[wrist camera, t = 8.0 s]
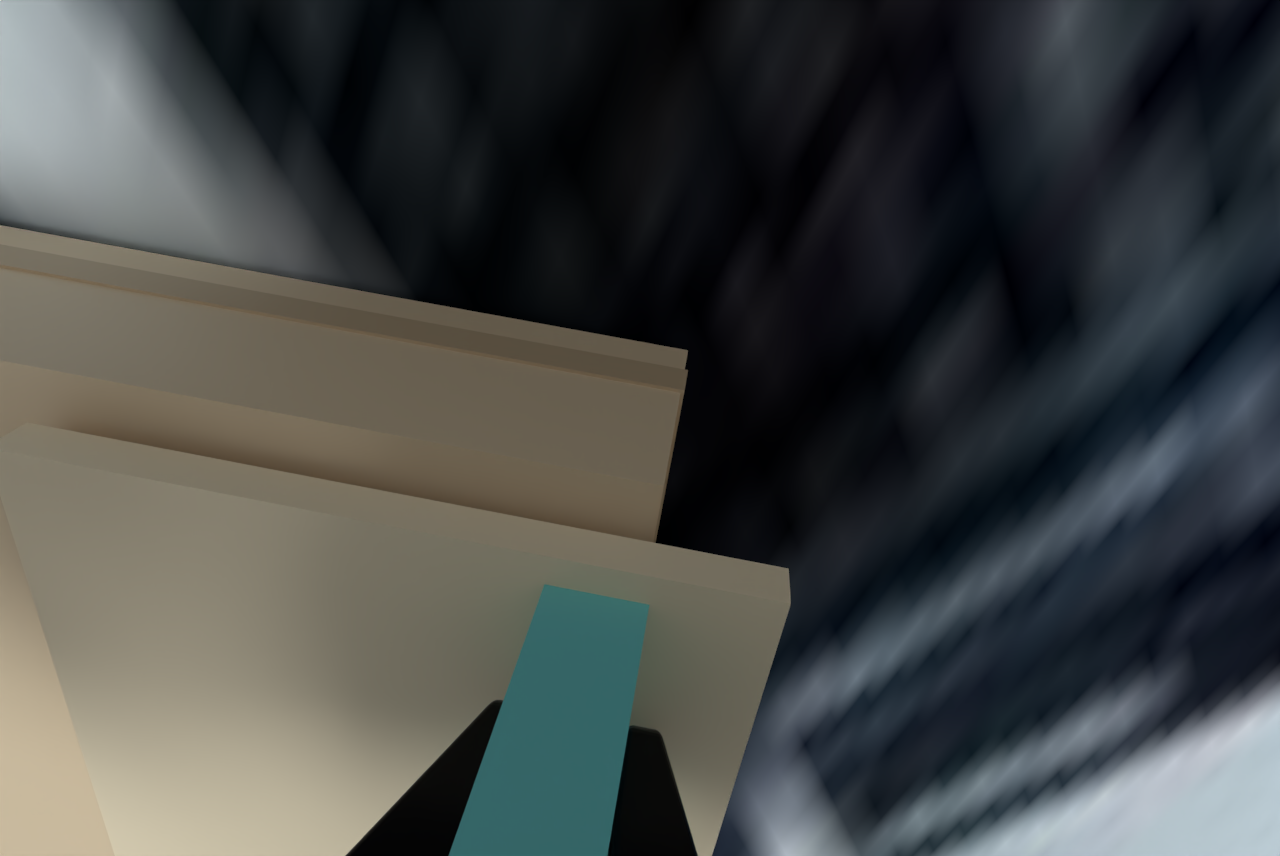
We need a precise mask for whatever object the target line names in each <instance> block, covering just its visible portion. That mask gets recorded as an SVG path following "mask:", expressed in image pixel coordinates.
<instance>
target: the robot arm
mask: <svg viewBox="0 0 1280 856" xmlns="http://www.w3.org/2000/svg"><path fill="white" fill-rule="evenodd" d="M502 703H503V700H494V701H492V702H491V703H490V704H489V705H488V706H487V707H486V708H485V709H484V710H483V711H482V712H481V713H480V714H479V715H478V716H477V717H476V718H475V719H474V720H473V721H472V723H471V724H470V725H469V726H468V727H467V728H466V729H465V730H464V731H463V732H462V733H461V734H460V735H459V736H458V737H457V738H456V739H455V740H454V742H453V743H452V744H451V745H450V746H449V747H448V748H447V749H446V750H445V751H444V752H443V753H442V754H441V755H440V756H439V757H438V758H437V759H436V761H435V762H434V763H433V764H432V765H431V766H430V767H429V768H428V769H427V770H426V771H425V772H424V773H423V774H422V775H421V776H420V777H419V778H418V779H417V781H416V782H415V783H414V784H413V785H412V786H411V787H410V788H409V789H408V790H407V791H406V792H405V793H404V794H403V795H402V796H401V797H400V798H399V800H398V801H397V802H396V803H395V804H394V805H393V806H392V807H391V808H390V809H389V810H388V811H387V812H386V813H385V814H384V815H383V816H382V817H381V819H380V820H379V821H378V822H377V823H376V824H375V825H374V826H373V827H372V828H371V829H370V830H369V831H368V832H367V833H366V834H365V835H364V836H363V838H362V839H361V840H360V841H359V842H358V843H357V844H356V845H355V846H354V847H353V848H352V849H351V850H350V851H349V852H348V853H347V854H346V855H345V856H449V853H450V850H451V847H452V845H453V842H454V839H455V836H456V833H457V830H458V828H459V825H460V822H461V819H462V816H463V813H464V811H465V808H466V805H467V802H468V799H469V796H470V794H471V791H472V788H473V785H474V782H475V779H476V777H477V774H478V771H479V768H480V765H481V762H482V760H483V757H484V754H485V751H486V748H487V745H488V743H489V740H490V737H491V734H492V731H493V728H494V726H495V723H496V720H497V717H498V714H499V711H500V709H501V706H502ZM607 856H698V854H697V851H696V847H695V844H694V841H693V837H692V834H691V831H690V827H689V824H688V820H687V817H686V814H685V810H684V807H683V804H682V800H681V797H680V794H679V790H678V787H677V783H676V780H675V777H674V773H673V770H672V767H671V763H670V760H669V757H668V753H667V750H666V746H665V743H664V740H663V737H662V735H661V733H660V732H659V731H658V730H655V729H650V728H645V727H640V726H635V725H632V726H629V730H628V736H627V742H626V748H625V754H624V759H623V765H622V771H621V777H620V783H619V789H618V795H617V801H616V807H615V813H614V819H613V825H612V831H611V837H610V843H609V849H608V855H607Z"/></svg>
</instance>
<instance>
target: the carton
mask: <svg viewBox="0 0 1280 856" xmlns="http://www.w3.org/2000/svg"><path fill="white" fill-rule="evenodd" d="M687 354H688V350H684V349H678V348H673V347H667V346H662V345H656V344H651V343H645V342H640V341H634V340H629V339H623V338H618V337H612V336H607V335H601V334H596V333H590V332H585V331H579V330H574V329H568V328H563V327H557V326H552V325H546V324H541V323H535V322H530V321H524V320H519V319H513V318H508V317H502V316H497V315H491V314H486V313H480V312H475V311H469V310H464V309H458V308H453V307H447V306H442V305H436V304H431V303H425V302H420V301H414V300H409V299H403V298H398V297H392V296H387V295H381V294H376V293H370V292H365V291H359V290H354V289H348V288H343V287H337V286H332V285H326V284H321V283H316V282H310V281H305V280H299V279H294V278H288V277H283V276H277V275H272V274H266V273H261V272H255V271H250V270H244V269H239V268H233V267H228V266H222V265H217V264H211V263H206V262H200V261H195V260H189V259H184V258H178V257H173V256H167V255H162V254H156V253H151V252H145V251H140V250H134V249H129V248H123V247H118V246H112V245H107V244H101V243H96V242H90V241H85V240H79V239H74V238H68V237H63V236H57V235H52V234H46V233H41V232H35V231H30V230H24V229H19V228H13V227H8V226H2V225H0V438H2V437H3V436H5V435H7V434H8V433H10V432H12V431H14V430H15V429H17V428H19V427H20V426H22V425H24V424H25V423H27V422H28V423H33V424H38V425H44V426H49V427H54V428H59V429H64V430H70V431H75V432H80V433H85V434H91V435H96V436H101V437H106V438H111V439H117V440H122V441H127V442H132V443H137V444H143V445H148V446H153V447H158V448H163V449H169V450H174V451H179V452H184V453H189V454H195V455H200V456H205V457H210V458H215V459H221V460H226V461H231V462H236V463H242V464H247V465H252V466H257V467H262V468H268V469H273V470H278V471H283V472H288V473H294V474H299V475H304V476H309V477H314V478H320V479H325V480H330V481H335V482H340V483H346V484H351V485H356V486H361V487H366V488H372V489H377V490H382V491H387V492H392V493H398V494H403V495H408V496H413V497H419V498H424V499H429V500H434V501H439V502H445V503H450V504H455V505H460V506H465V507H471V508H476V509H481V510H486V511H491V512H497V513H502V514H507V515H512V516H517V517H523V518H528V519H533V520H538V521H543V522H549V523H554V524H559V525H564V526H570V527H575V528H580V529H585V530H590V531H596V532H601V533H606V534H611V535H616V536H622V537H627V538H632V539H637V540H642V541H648V542H653V543H656V538H657V533H658V527H659V522H660V517H661V512H662V506H663V501H664V496H665V491H666V485H667V480H668V475H669V470H670V465H671V459H672V454H673V449H674V444H675V438H676V433H677V428H678V423H679V417H680V412H681V407H682V402H683V396H684V391H685V385H686V380H687V374H688V370H685V366H686V360H687ZM0 856H115V855H114V852H113V848H112V845H111V842H110V839H109V836H108V833H107V830H106V826H105V823H104V820H103V817H102V814H101V811H100V808H99V805H98V801H97V798H96V795H95V792H94V789H93V786H92V783H91V779H90V776H89V773H88V770H87V767H86V764H85V761H84V757H83V754H82V751H81V748H80V745H79V742H78V739H77V735H76V732H75V729H74V726H73V723H72V720H71V717H70V714H69V710H68V707H67V704H66V701H65V698H64V695H63V692H62V688H61V685H60V682H59V679H58V676H57V673H56V670H55V666H54V663H53V660H52V657H51V654H50V651H49V648H48V644H47V641H46V638H45V635H44V632H43V629H42V626H41V622H40V619H39V616H38V613H37V610H36V607H35V604H34V601H33V597H32V594H31V591H30V588H29V585H28V582H27V579H26V575H25V572H24V569H23V566H22V563H21V560H20V557H19V553H18V550H17V547H16V544H15V541H14V538H13V535H12V531H11V528H10V525H9V522H8V519H7V516H6V513H5V510H4V506H3V503H2V500H1V497H0Z"/></svg>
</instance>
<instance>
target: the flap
mask: <svg viewBox="0 0 1280 856" xmlns="http://www.w3.org/2000/svg"><path fill="white" fill-rule="evenodd" d="M0 497H1V500H2V503H3V506H4V510H5V513H6V516H7V519H8V522H9V525H10V528H11V531H12V535H13V538H14V541H15V544H16V547H17V550H18V553H19V557H20V560H21V563H22V566H23V569H24V572H25V575H26V579H27V582H28V585H29V588H30V591H31V594H32V597H33V601H34V604H35V607H36V610H37V613H38V616H39V619H40V622H41V626H42V629H43V632H44V635H45V638H46V641H47V644H48V648H49V651H50V654H51V657H52V660H53V663H54V666H55V670H56V673H57V676H58V679H59V682H60V685H61V688H62V692H63V695H64V698H65V701H66V704H67V707H68V710H69V714H70V717H71V720H72V723H73V726H74V729H75V732H76V735H77V739H78V742H79V745H80V748H81V751H82V754H83V757H84V761H85V764H86V767H87V770H88V773H89V776H90V779H91V783H92V786H93V789H94V792H95V795H96V798H97V801H98V805H99V808H100V811H101V814H102V817H103V820H104V823H105V826H106V830H107V833H108V836H109V839H110V842H111V845H112V848H113V852H114V855H115V856H345V855H346V854H347V853H348V852H349V851H350V850H351V849H352V848H353V847H354V846H355V845H356V844H357V843H358V842H359V841H360V840H361V839H362V838H363V836H364V835H365V834H366V833H367V832H368V831H369V830H370V829H371V828H372V827H373V826H374V825H375V824H376V823H377V822H378V821H379V820H380V819H381V817H382V816H383V815H384V814H385V813H386V812H387V811H388V810H389V809H390V808H391V807H392V806H393V805H394V804H395V803H396V802H397V801H398V800H399V798H400V797H401V796H402V795H403V794H404V793H405V792H406V791H407V790H408V789H409V788H410V787H411V786H412V785H413V784H414V783H415V782H416V781H417V779H418V778H419V777H420V776H421V775H422V774H423V773H424V772H425V771H426V770H427V769H428V768H429V767H430V766H431V765H432V764H433V763H434V762H435V761H436V759H437V758H438V757H439V756H440V755H441V754H442V753H443V752H444V751H445V750H446V749H447V748H448V747H449V746H450V745H451V744H452V743H453V742H454V740H455V739H456V738H457V737H458V736H459V735H460V734H461V733H462V732H463V731H464V730H465V729H466V728H467V727H468V726H469V725H470V724H471V723H472V721H473V720H474V719H475V718H476V717H477V716H478V715H479V714H480V713H481V712H482V711H483V710H484V709H485V708H486V707H487V706H488V705H489V704H490V703H491V702H492V701H494V700H503V703H502V706H501V709H500V711H499V714H498V717H497V720H496V723H495V726H494V728H493V731H492V734H491V737H490V740H489V743H488V745H487V748H486V751H485V754H484V757H483V760H482V762H481V765H480V768H479V771H478V774H477V777H476V779H475V782H474V785H473V788H472V791H471V794H470V796H469V799H468V802H467V805H466V808H465V811H464V813H463V816H462V819H461V822H460V825H459V828H458V830H457V833H456V836H455V839H454V842H453V845H452V847H451V850H450V853H449V856H607V855H608V849H609V843H610V837H611V831H612V825H613V819H614V813H615V807H616V801H617V795H618V789H619V783H620V777H621V771H622V765H623V759H624V754H625V748H626V742H627V736H628V730H629V726H632V725H635V726H640V727H645V728H650V729H655V730H658V731H659V732H660V733H661V735H662V737H663V740H664V743H665V746H666V750H667V753H668V757H669V760H670V763H671V767H672V770H673V773H674V777H675V780H676V783H677V787H678V790H679V794H680V797H681V800H682V804H683V807H684V810H685V814H686V817H687V820H688V824H689V827H690V831H691V834H692V837H693V841H694V844H695V847H696V851H697V854H698V856H712V853H713V850H714V847H715V844H716V841H717V838H718V834H719V831H720V828H721V825H722V822H723V818H724V815H725V812H726V809H727V806H728V802H729V799H730V796H731V793H732V790H733V787H734V783H735V780H736V777H737V774H738V771H739V767H740V764H741V761H742V758H743V755H744V752H745V748H746V745H747V742H748V739H749V736H750V732H751V729H752V726H753V723H754V720H755V716H756V713H757V710H758V707H759V704H760V701H761V697H762V694H763V691H764V688H765V685H766V681H767V678H768V675H769V672H770V669H771V665H772V662H773V659H774V656H775V653H776V650H777V646H778V643H779V640H780V637H781V634H782V630H783V627H784V624H785V621H786V618H787V615H788V611H789V608H790V605H791V597H790V582H789V569H788V568H783V567H778V566H773V565H767V564H762V563H757V562H752V561H747V560H741V559H736V558H731V557H726V556H721V555H715V554H710V553H705V552H700V551H694V550H689V549H684V548H679V547H674V546H668V545H663V544H658V543H653V542H648V541H642V540H637V539H632V538H627V537H622V536H616V535H611V534H606V533H601V532H596V531H590V530H585V529H580V528H575V527H570V526H564V525H559V524H554V523H549V522H543V521H538V520H533V519H528V518H523V517H517V516H512V515H507V514H502V513H497V512H491V511H486V510H481V509H476V508H471V507H465V506H460V505H455V504H450V503H445V502H439V501H434V500H429V499H424V498H419V497H413V496H408V495H403V494H398V493H392V492H387V491H382V490H377V489H372V488H366V487H361V486H356V485H351V484H346V483H340V482H335V481H330V480H325V479H320V478H314V477H309V476H304V475H299V474H294V473H288V472H283V471H278V470H273V469H268V468H262V467H257V466H252V465H247V464H242V463H236V462H231V461H226V460H221V459H215V458H210V457H205V456H200V455H195V454H189V453H184V452H179V451H174V450H169V449H163V448H158V447H153V446H148V445H143V444H137V443H132V442H127V441H122V440H117V439H111V438H106V437H101V436H96V435H91V434H85V433H80V432H75V431H70V430H64V429H59V428H54V427H49V426H44V425H38V424H33V423H28V422H27V423H25V424H24V425H22V426H20V427H19V428H17V429H15V430H14V431H12V432H10V433H8V434H7V435H5V436H3V437H2V438H0Z"/></svg>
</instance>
